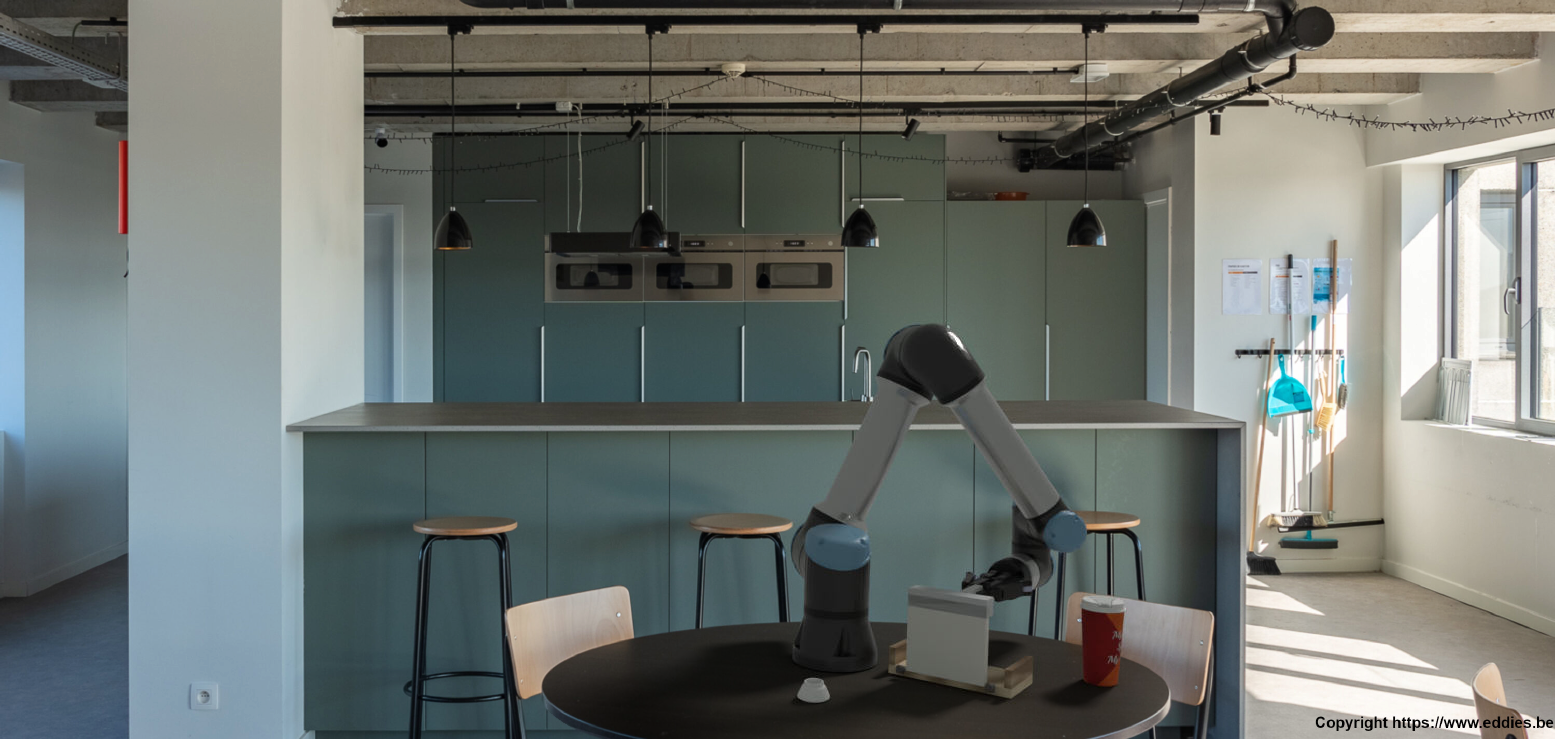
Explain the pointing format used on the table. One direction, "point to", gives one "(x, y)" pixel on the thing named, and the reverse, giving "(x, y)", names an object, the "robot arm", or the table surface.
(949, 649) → the tailgate
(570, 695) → the table surface
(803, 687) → the white jar
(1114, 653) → the paper cup
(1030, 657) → the cart bed
